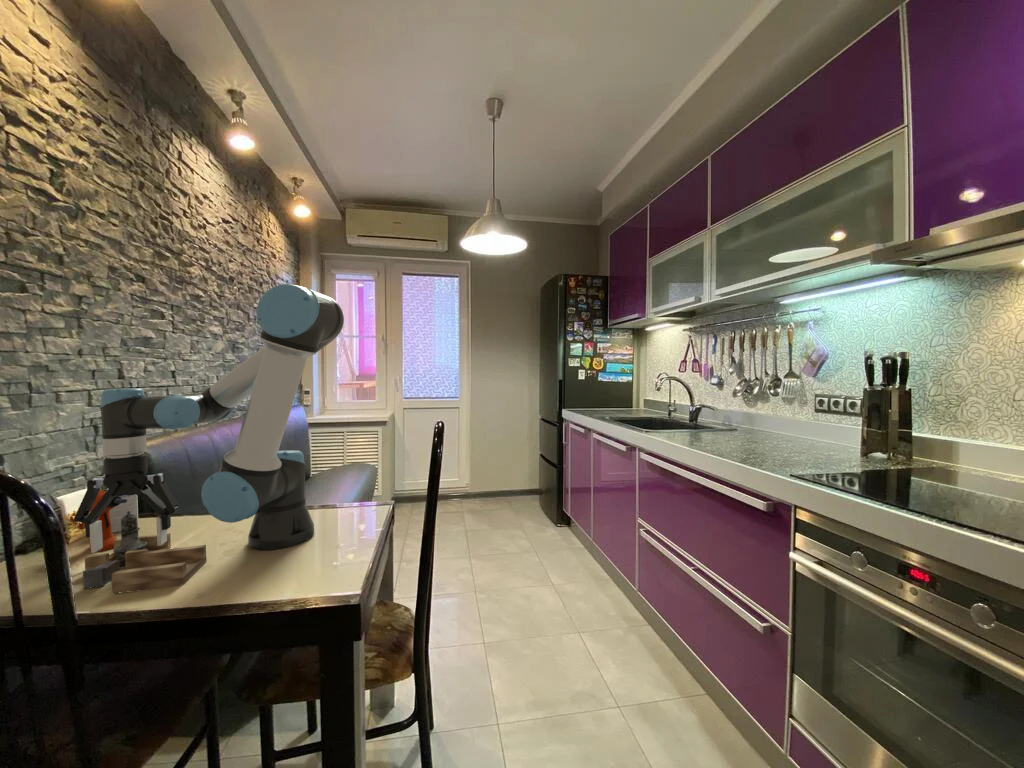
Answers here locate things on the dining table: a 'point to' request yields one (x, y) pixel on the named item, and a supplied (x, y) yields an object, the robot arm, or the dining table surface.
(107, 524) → the toy drill
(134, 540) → the chess piece
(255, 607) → the dining table surface
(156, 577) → the rack
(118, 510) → the light bulb box
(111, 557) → the socket frame
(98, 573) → the bar
